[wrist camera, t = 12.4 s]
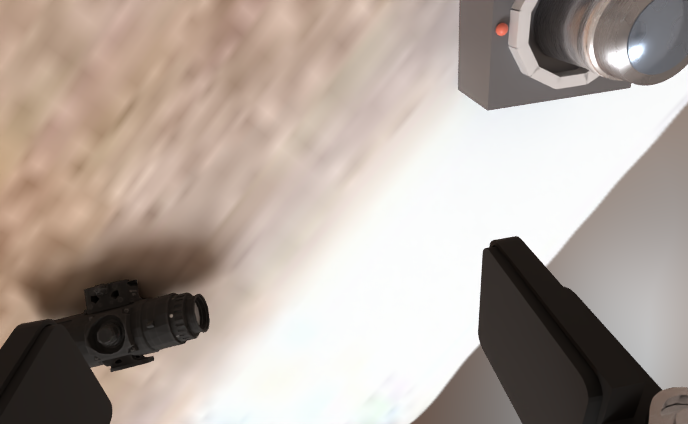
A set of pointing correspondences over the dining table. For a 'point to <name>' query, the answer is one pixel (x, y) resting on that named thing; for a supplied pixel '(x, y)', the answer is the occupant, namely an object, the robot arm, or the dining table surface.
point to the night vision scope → (133, 324)
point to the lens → (616, 37)
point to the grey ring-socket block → (515, 59)
